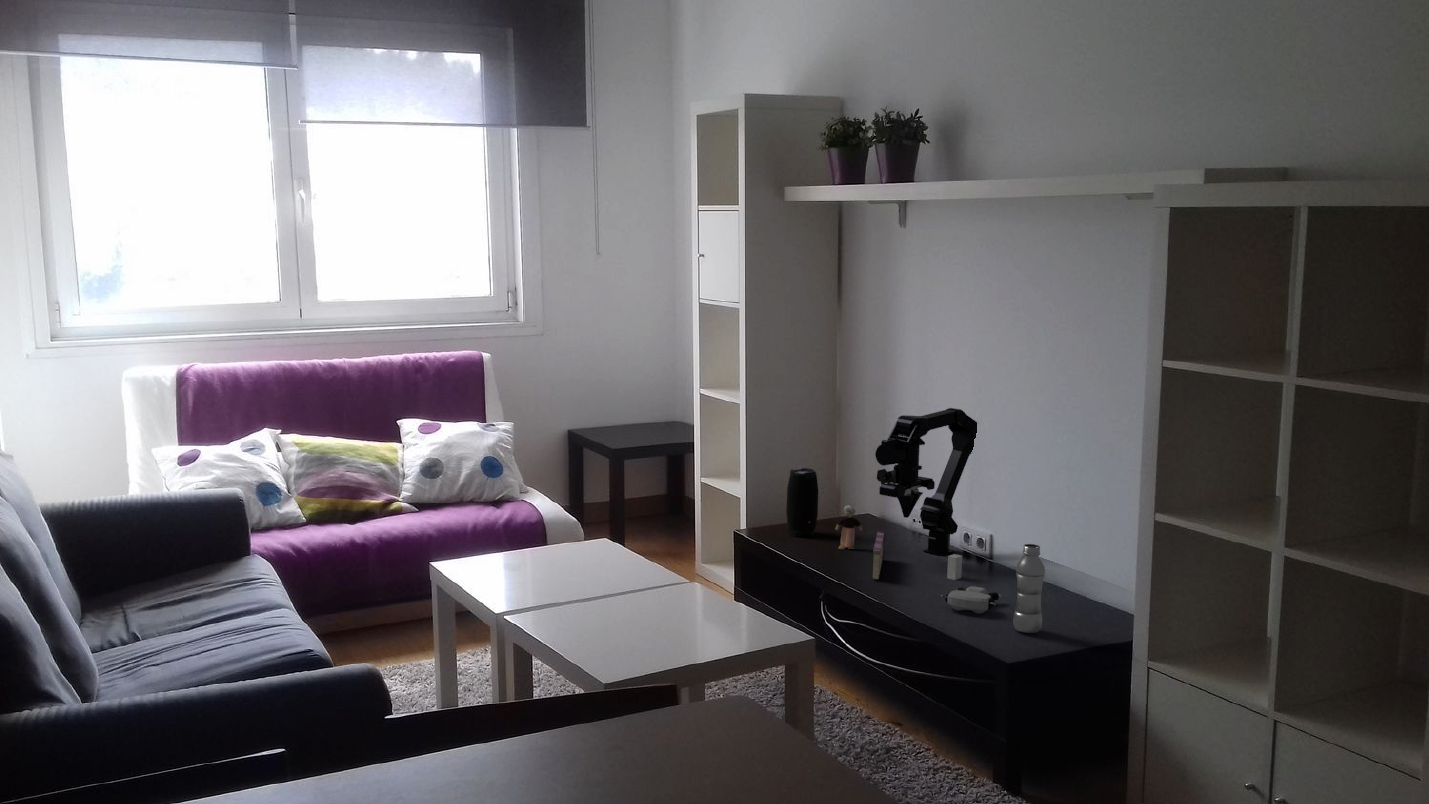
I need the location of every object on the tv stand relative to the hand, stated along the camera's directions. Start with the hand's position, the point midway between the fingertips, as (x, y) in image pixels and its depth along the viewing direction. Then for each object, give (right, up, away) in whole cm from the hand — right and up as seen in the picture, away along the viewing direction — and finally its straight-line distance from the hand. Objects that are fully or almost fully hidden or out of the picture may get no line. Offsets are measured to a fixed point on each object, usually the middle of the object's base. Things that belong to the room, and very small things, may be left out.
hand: (906, 517), depth 334 cm
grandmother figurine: (-15, -10, +13) cm, 22 cm away
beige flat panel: (-9, -13, -10) cm, 18 cm away
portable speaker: (-27, -8, +28) cm, 40 cm away
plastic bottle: (+18, -21, -60) cm, 66 cm away
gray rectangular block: (+10, -14, -16) cm, 24 cm away
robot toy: (+9, -18, -42) cm, 46 cm away
